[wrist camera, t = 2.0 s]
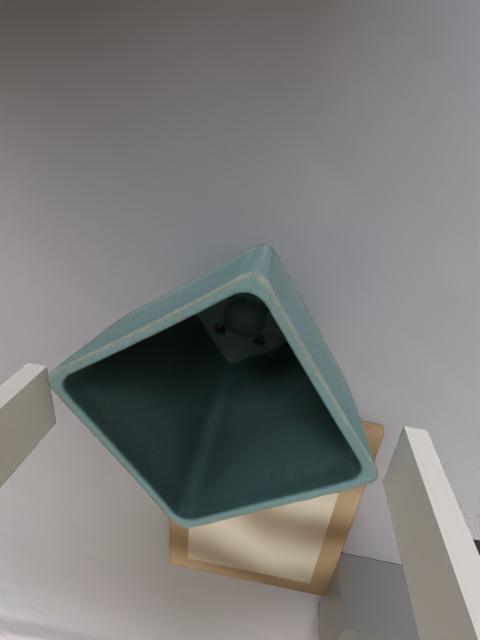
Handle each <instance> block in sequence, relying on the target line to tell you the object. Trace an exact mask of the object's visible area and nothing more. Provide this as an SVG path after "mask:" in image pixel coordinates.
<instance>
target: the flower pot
mask: <svg viewBox="0 0 480 640" xmlns="http://www.w3.org/2000/svg"><path fill="white" fill-rule="evenodd" d="M218 323H221V324H223V325H224V326H225V329H224V330H222V331H220V330H218V329H217V328H216V325H217V324H218ZM257 335H262V336H263V337H264V340H263V341H262V342H258V341H256V340H255V337H256V336H257ZM47 380H48V383H49V385H50V387H51V388H52V389H53V390H54V392H55V393H56V394H57V395H58V396H59V397H60V399H61V400H62V401H63V402H64V403H65V404H66V405H67V406H68V407H69V408H70V409H71V411H72V412H73V413H74V414H75V415H76V416H77V417H78V418H79V419H80V420H81V422H82V423H84V425H85V426H86V427H87V428H88V429H89V430H90V431H91V432H92V433H93V434H94V436H96V437H97V438H98V440H99V441H100V442H101V443H102V444H103V445H104V446H105V447H106V448H107V449H108V450H109V452H110V453H111V454H112V455H113V456H114V457H115V458H116V460H117V461H119V462H120V464H121V465H123V466H124V467H125V468H126V470H127V471H128V472H129V473H130V474H131V475H132V476H133V477H134V478H135V479H136V480H137V481H138V483H139V484H140V485H141V487H142V488H143V489H144V490H145V491H146V492H147V493H148V494H149V495H150V496H151V498H152V499H153V500H154V501H155V502H156V503H157V504H158V505H159V507H160V508H161V509H162V510H163V511H164V513H165V514H166V515H167V516H168V517H169V518H170V519H171V520H172V521H174V522H175V523H176V524H178V525H179V526H180V527H183V528H192V527H198V526H202V525H207V524H211V523H215V522H218V521H222V520H226V519H229V518H234V517H238V516H242V515H248V514H251V513H254V512H258V511H262V510H267V509H271V508H274V507H281V506H284V505H287V504H292V503H295V502H301V501H305V500H310V499H313V498H317V497H320V496H324V495H329V494H333V493H339V492H342V491H347V490H351V489H354V488H357V487H361V486H363V485H366V484H368V483H371V482H373V481H375V480H376V478H377V476H378V473H377V468H376V465H375V462H374V459H373V456H372V453H371V450H370V447H369V444H368V441H367V439H366V436H365V433H364V430H363V427H362V424H361V421H360V418H359V415H358V412H357V409H356V406H355V403H354V400H353V398H352V395H351V392H350V389H349V387H348V384H347V382H346V380H345V378H344V376H343V374H342V372H341V370H340V368H339V366H338V365H337V363H336V361H335V359H334V358H333V356H332V354H331V352H330V351H329V349H328V347H327V345H326V343H325V342H324V340H323V338H322V336H321V335H320V333H319V331H318V329H317V327H316V325H315V324H314V322H313V320H312V318H311V316H310V315H309V313H308V311H307V309H306V307H305V305H304V304H303V302H302V300H301V298H300V296H299V295H298V293H297V291H296V289H295V287H294V285H293V284H292V282H291V280H290V278H289V276H288V275H287V273H286V271H285V269H284V267H283V265H282V263H281V262H280V260H279V258H278V256H277V254H276V253H275V251H274V250H273V249H272V248H271V247H270V246H268V245H265V244H262V245H258V246H256V247H253V248H251V249H250V250H248V251H246V252H244V253H243V254H241V255H239V256H237V257H235V258H233V259H231V260H230V261H228V262H226V263H224V264H222V265H220V266H219V267H217V268H215V269H213V270H211V271H209V272H207V273H206V274H204V275H202V276H200V277H198V278H196V279H194V280H192V281H191V282H189V283H187V284H185V285H183V286H181V287H179V288H177V289H175V290H173V291H171V292H169V293H168V294H166V295H164V296H162V297H160V298H158V299H156V300H154V301H152V302H150V303H148V304H146V305H144V306H142V307H140V308H138V309H136V310H134V311H132V312H131V313H129V314H127V315H126V316H124V317H123V318H121V319H120V320H118V321H117V322H116V323H114V324H113V325H111V326H110V327H109V328H107V329H106V330H105V331H104V332H102V333H101V334H100V335H98V336H97V337H96V338H94V339H93V340H92V341H90V342H89V343H88V344H87V345H85V346H84V347H83V348H81V349H80V350H79V351H77V352H76V353H75V354H73V355H72V356H71V357H70V358H68V359H67V360H66V361H64V362H63V363H62V364H61V365H59V366H58V367H57V368H55V369H54V370H53V371H52V372H51V373H50V375H49V376H48V379H47Z"/></svg>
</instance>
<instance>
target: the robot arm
mask: <svg viewBox="0 0 480 640" xmlns="http://www.w3.org/2000/svg"><path fill="white" fill-rule="evenodd" d="M47 379H48V370H47V366H43V365H37V364H31V363H27V364H26V365H25V366H24V367H22V368H21V369H20V370H19V371H18V372H16V373H15V374H14V375H13V376H12V377H10V378H9V379H8V380H7V381H6V382H4V383H3V384H2V385H1V386H0V488H1V487H2V485H3V484H4V483H5V482H6V481H7V480H8V478H9V477H10V476H11V475H12V474H13V472H14V471H15V470H16V469H17V468H18V467H19V465H20V464H21V463H22V462H23V461H24V460H25V458H26V457H27V456H28V455H29V454H30V452H31V451H32V450H33V449H34V448H35V447H36V445H37V444H38V443H39V442H40V441H41V440H42V438H43V437H44V436H45V435H46V434H47V432H48V431H49V430H50V429H51V428H52V427H53V425H54V424H55V423H56V418H55V412H54V406H53V400H52V394H51V388H50V385H49V383H48V380H47ZM383 483H384V487H385V492H386V496H387V500H388V505H389V509H390V513H391V518H392V522H393V526H394V530H395V535H396V539H397V543H398V548H399V552H400V556H401V561H402V565H403V569H404V573H405V578H406V582H407V586H408V591H409V595H410V599H411V604H412V608H413V612H414V617H415V621H416V625H417V629H418V634H419V638H420V640H480V541H479V540H474V539H472V536H471V534H470V531H469V529H468V527H467V524H466V522H465V520H464V517H463V515H462V512H461V510H460V508H459V505H458V503H457V500H456V498H455V496H454V493H453V491H452V489H451V486H450V484H449V481H448V479H447V477H446V474H445V472H444V470H443V467H442V465H441V462H440V460H439V458H438V455H437V453H436V450H435V448H434V446H433V443H432V441H431V439H430V436H429V434H428V431H427V430H425V429H419V428H413V427H407V426H404V428H403V430H402V433H401V435H400V438H399V441H398V443H397V446H396V449H395V451H394V454H393V457H392V459H391V462H390V465H389V467H388V470H387V473H386V475H385V478H384V481H383Z"/></svg>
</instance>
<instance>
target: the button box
mask: <svg viewBox="0 0 480 640" xmlns="http://www.w3.org/2000/svg"><path fill="white" fill-rule="evenodd" d="M318 618H319V640H420V638H419V634H418V629H417V625H416V621H415V617H414V612H413V608H412V604H411V599H410V595H409V591H408V586H407V582H406V578H405V573H404V569H403V565H398V564H393V563H388V562H383V561H378V560H373V559H368V558H363V557H358V556H353V555H348V554H343V553H341V554H340V557H339V560H338V562H337V565H336V568H335V571H334V573H333V576H332V579H331V582H330V585H329V587H328V590H327V593H326V596H322V598H321V601H320V604H319V606H318Z"/></svg>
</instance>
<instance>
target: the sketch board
mask: <svg viewBox="0 0 480 640" xmlns="http://www.w3.org/2000/svg"><path fill="white" fill-rule="evenodd" d="M361 424H362V427H363V430H364V433H365V436H366V439H367V441H368V444H369V447H370V450H371V453H372V456H373V459H374V460H375V457H376V454H377V451H378V449H379V446H380V443H381V440H382V438H383V435H384V429H383V425H378V424H372V423H367V422H361ZM364 488H365V485H363V486H361V487H357V488H354V489H351V490H347V491H342V492H339V493H333V494H329V495H324V496H320V497H317V498H313V499H310V500H305V501H301V502H295V503H292V504H287V505H284V506H281V507H274V508H271V509H267V510H262V511H258V512H254V513H251V514H248V515H242V516H238V517H234V518H229V519H226V520H222V521H218V522H215V523H211V524H207V525H202V526H198V527H192V528H183V527H180V526H179V525H178V524H176V523H175V522H174V521H172V520H171V519H170V564H173V565H178V566H183V567H188V568H192V569H197V570H202V571H207V572H212V573H216V574H221V575H226V576H231V577H235V578H240V579H245V580H250V581H255V582H259V583H264V584H269V585H274V586H279V587H283V588H288V589H293V590H298V591H303V592H307V593H312V594H317V595H322V596H326V593H327V590H328V587H329V585H330V582H331V579H332V576H333V573H334V571H335V568H336V565H337V562H338V560H339V557H340V554H341V551H342V548H343V546H344V543H345V540H346V537H347V535H348V532H349V529H350V526H351V524H352V521H353V518H354V515H355V512H356V510H357V507H358V504H359V501H360V499H361V496H362V493H363V490H364Z"/></svg>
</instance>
